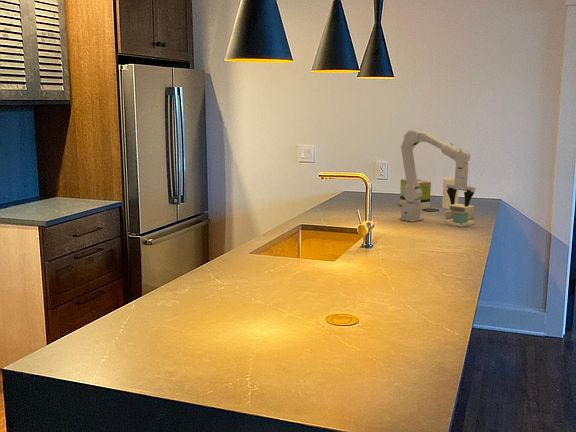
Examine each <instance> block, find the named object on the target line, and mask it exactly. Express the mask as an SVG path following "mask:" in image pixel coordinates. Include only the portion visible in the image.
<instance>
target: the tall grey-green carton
mask: <svg viewBox="0 0 576 432" xmlns="http://www.w3.org/2000/svg"><path fill="white" fill-rule="evenodd" d="M452 218H453V217H452ZM452 220H453V222H455V223H461V224H462V223H466V222H468V220H469V219H468V213H466V212H457V213H454V218H453V219H452Z"/></svg>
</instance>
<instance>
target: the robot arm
mask: <svg viewBox="0 0 576 432" xmlns="http://www.w3.org/2000/svg"><path fill="white" fill-rule="evenodd" d="M420 143H428V144H430V145H432V146H434V147H435V148H438V149H440V151H441V153H442V154H443V155H445V157H446V156H447V157H449V158H450V159H452V160H454V162H455V171H454V178H455V185H451V184H447V185H446V189H448V190H447V193H448V195H449V198H450V202H451V205H452V204H455V195H456V191H457V190H459V191H464V192H463V194H464V205H465V207H467V206H469V205H470V201H471V199H473V198H472V197H473V196H474V195H475V192H476V187H473V186H469V185H468V177H469V175H468V173H469V161H470V159H471V154H470V153H469V152H468V151H467V150H463V148H461V147H458V146H455V144H454V143H453V142H443V141H441V140H440V139H439V138H437V137H435V136H433V135H432V134H431V133H429V132H428V131H425V130H422V129H419V128H416V129H409V130H408V131H406V133H405V134H404V135H403V141H402V144H401V146H400V150H401V156H402V162H403V169H404V175H405V179H406V186H405V194H404V197H405V199H406V203H404V204H403V205H401V208H400V209H401V210H400V217H399V220H400V221H406V222H410V223H411V222H418V221H423V220H424V218H422V217H421V209H420V208H421V200H420V199H421V198H422V196H423V192H422V190H421V188H420V184H419V183H418V182H417V179H418V177H417V176H418V175H417V170H416V163H415V158H414V157H415V156H414V151H413V150H414V148H415V147H416V146H417V145H418V144H420ZM457 188H458V189H457Z"/></svg>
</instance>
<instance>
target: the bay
mask: <svg viewBox="0 0 576 432" xmlns="http://www.w3.org/2000/svg"><path fill="white" fill-rule="evenodd" d="M457 212H466V213H468V220H470V219H474V215H475V206H474V205H470V204H469V206H467V207H465V203H463V204H462V203H458V204H452V205H449V209H448V210H446V211H445V210H444V215H443V216H444V217H443V218H444V219H451V218H454V213H457Z"/></svg>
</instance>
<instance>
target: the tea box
mask: <svg viewBox="0 0 576 432" xmlns="http://www.w3.org/2000/svg"><path fill="white" fill-rule="evenodd" d="M417 182H418V183H419V184H420V188H421V190H422V192H423V196H422V198H421V199H420V200H421V208H420V210H426V209H430V206H431V205H430V204H431V187H432V184H431V183H432V182H431V181H428V180H422V179H418V178H417ZM405 186H406V178H402V179H400V191H399V193H400V194H399V205H400V206H402V205H403V204H404V203H406V199H405V197H404V194H405Z"/></svg>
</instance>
